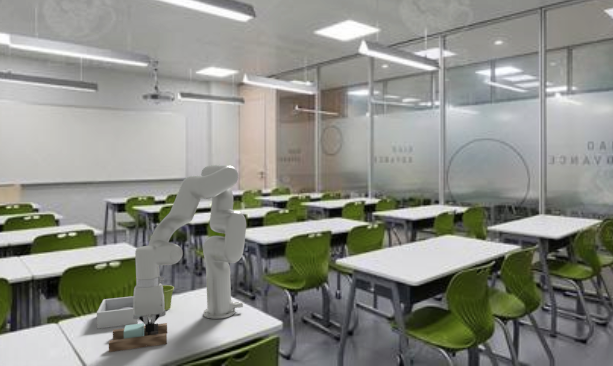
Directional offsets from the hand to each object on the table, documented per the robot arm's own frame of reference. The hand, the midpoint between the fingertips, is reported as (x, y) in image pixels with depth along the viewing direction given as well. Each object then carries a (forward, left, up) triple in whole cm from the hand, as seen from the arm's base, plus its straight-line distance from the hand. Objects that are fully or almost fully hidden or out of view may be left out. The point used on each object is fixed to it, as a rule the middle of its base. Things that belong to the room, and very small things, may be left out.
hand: (150, 333), depth 148 cm
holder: (+13, -25, -2) cm, 28 cm away
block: (+5, 0, -2) cm, 6 cm away
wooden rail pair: (+4, 0, -2) cm, 4 cm away
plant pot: (-3, -31, -2) cm, 31 cm away
